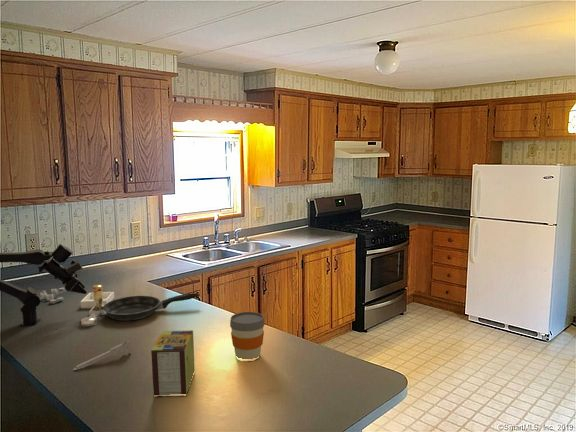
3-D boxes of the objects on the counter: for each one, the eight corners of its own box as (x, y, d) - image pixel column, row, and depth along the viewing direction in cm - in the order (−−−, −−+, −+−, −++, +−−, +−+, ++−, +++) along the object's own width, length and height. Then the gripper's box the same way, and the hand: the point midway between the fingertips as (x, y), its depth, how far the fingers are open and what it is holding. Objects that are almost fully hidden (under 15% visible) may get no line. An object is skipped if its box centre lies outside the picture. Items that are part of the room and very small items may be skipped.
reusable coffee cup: (233, 366, 163) (232, 325, 161) (228, 351, 175) (227, 313, 173) (268, 361, 166) (267, 321, 164) (261, 347, 178) (260, 310, 176)
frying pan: (101, 327, 200) (100, 312, 199) (106, 308, 224) (105, 294, 223) (203, 316, 213) (203, 302, 212) (197, 299, 237) (197, 286, 236)
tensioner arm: (95, 326, 200) (94, 321, 200) (78, 327, 200) (78, 321, 199) (108, 309, 221) (108, 304, 221) (93, 310, 221) (93, 305, 220)
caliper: (130, 353, 174) (129, 337, 173) (131, 354, 173) (130, 338, 172) (72, 370, 161) (71, 353, 160) (73, 371, 160) (72, 354, 159)
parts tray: (106, 307, 225) (106, 300, 224) (80, 308, 223) (80, 301, 223) (114, 298, 238) (113, 291, 238) (90, 299, 237) (89, 292, 237)
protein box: (195, 373, 158) (193, 329, 156) (186, 397, 143) (185, 349, 141) (164, 373, 158) (162, 330, 156) (152, 397, 143) (150, 349, 140)
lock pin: (102, 314, 216) (100, 287, 214) (93, 314, 215) (91, 287, 214) (104, 311, 220) (103, 284, 218) (96, 311, 219) (94, 284, 218)
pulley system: (29, 308, 227) (62, 303, 231) (27, 299, 226) (61, 294, 230) (41, 294, 253) (71, 290, 257) (40, 285, 252) (70, 281, 256)
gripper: (71, 260, 200) (100, 281, 207) (68, 252, 217) (95, 272, 223) (52, 280, 198) (82, 301, 205) (51, 271, 214) (79, 290, 221)
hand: (85, 290), depth 214 cm, fingers open, 9 cm apart
